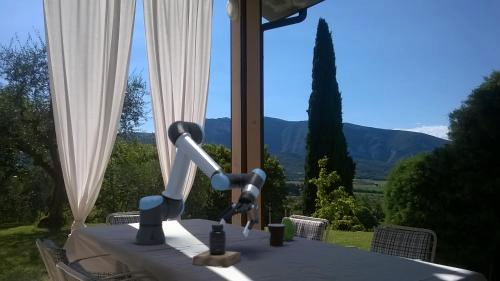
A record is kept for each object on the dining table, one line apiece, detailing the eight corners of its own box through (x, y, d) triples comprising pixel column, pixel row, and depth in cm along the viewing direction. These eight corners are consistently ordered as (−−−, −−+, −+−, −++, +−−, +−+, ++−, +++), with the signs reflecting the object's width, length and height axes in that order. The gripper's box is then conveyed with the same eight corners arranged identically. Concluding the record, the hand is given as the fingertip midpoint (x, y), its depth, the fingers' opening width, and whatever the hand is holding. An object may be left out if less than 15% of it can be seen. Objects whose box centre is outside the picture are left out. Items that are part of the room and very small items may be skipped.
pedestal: (192, 264, 174) (192, 256, 175) (208, 257, 189) (208, 249, 189) (227, 267, 169) (227, 258, 170) (240, 259, 184) (241, 251, 184)
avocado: (277, 239, 234) (277, 217, 235) (290, 238, 237) (290, 216, 238) (284, 242, 227) (284, 218, 227) (297, 241, 230) (297, 218, 230)
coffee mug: (283, 247, 213) (283, 226, 213) (266, 246, 214) (266, 225, 215) (286, 243, 224) (286, 223, 225) (270, 242, 226) (270, 222, 226)
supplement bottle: (209, 252, 182) (209, 223, 183) (225, 251, 183) (225, 223, 184) (209, 255, 176) (209, 225, 176) (226, 255, 176) (226, 225, 177)
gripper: (275, 203, 199) (259, 241, 185) (228, 200, 211) (210, 236, 197) (269, 192, 194) (253, 230, 181) (223, 190, 207) (204, 226, 193)
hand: (231, 233), depth 189 cm, fingers open, 13 cm apart
